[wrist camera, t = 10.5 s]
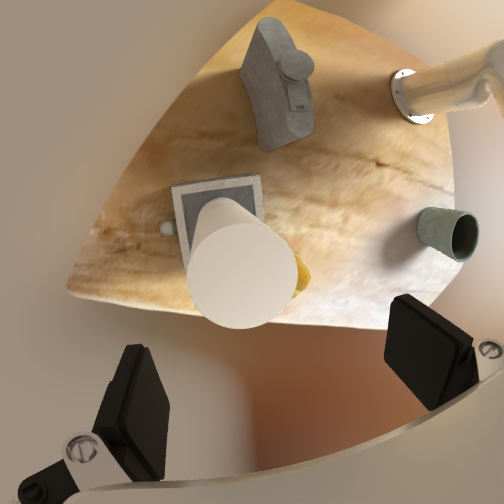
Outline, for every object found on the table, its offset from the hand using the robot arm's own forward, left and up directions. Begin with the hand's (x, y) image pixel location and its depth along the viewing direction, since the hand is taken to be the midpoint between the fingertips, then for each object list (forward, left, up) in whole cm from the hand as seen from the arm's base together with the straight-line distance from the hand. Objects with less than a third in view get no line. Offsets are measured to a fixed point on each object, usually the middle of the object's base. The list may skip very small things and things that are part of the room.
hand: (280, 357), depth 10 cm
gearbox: (+2, 0, -39) cm, 39 cm away
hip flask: (-9, -18, -39) cm, 44 cm away
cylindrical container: (0, 0, -34) cm, 34 cm away
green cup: (-45, +7, -39) cm, 60 cm away
